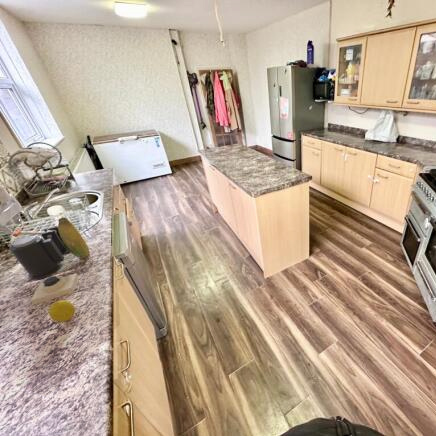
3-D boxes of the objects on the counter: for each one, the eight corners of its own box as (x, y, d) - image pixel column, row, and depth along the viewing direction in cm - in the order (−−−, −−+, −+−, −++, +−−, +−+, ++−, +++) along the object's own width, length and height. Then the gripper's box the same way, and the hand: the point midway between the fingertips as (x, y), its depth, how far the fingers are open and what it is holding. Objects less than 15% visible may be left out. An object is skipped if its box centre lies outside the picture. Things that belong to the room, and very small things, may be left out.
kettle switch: (12, 237, 96) (12, 232, 95) (18, 232, 99) (17, 227, 99) (54, 238, 102) (54, 233, 102) (57, 233, 106) (57, 228, 105)
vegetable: (95, 255, 104) (73, 216, 94) (79, 264, 99) (53, 224, 89) (89, 252, 107) (66, 213, 97) (73, 260, 102) (47, 220, 92)
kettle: (26, 284, 90) (-1, 251, 82) (35, 269, 97) (11, 238, 90) (65, 272, 95) (42, 241, 87) (71, 259, 102) (51, 229, 94)
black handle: (43, 261, 102) (26, 239, 96) (49, 250, 109) (34, 229, 103) (77, 252, 107) (63, 230, 101) (81, 242, 114) (68, 221, 108)
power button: (44, 288, 82) (41, 284, 81) (47, 281, 85) (45, 278, 84) (57, 284, 84) (54, 280, 83) (60, 278, 86) (57, 274, 86)
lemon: (53, 325, 73) (38, 308, 69) (71, 311, 77) (58, 294, 73) (66, 329, 71) (52, 311, 67) (84, 314, 76) (71, 296, 72)
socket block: (34, 304, 80) (27, 296, 78) (42, 288, 87) (36, 280, 85) (73, 292, 85) (68, 284, 83) (79, 277, 92) (73, 269, 90)
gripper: (-6, 191, 96) (15, 220, 103) (-35, 210, 81) (-8, 242, 88) (14, 187, 99) (34, 216, 106) (-10, 205, 83) (15, 237, 90)
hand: (15, 228), depth 97 cm, fingers open, 8 cm apart
